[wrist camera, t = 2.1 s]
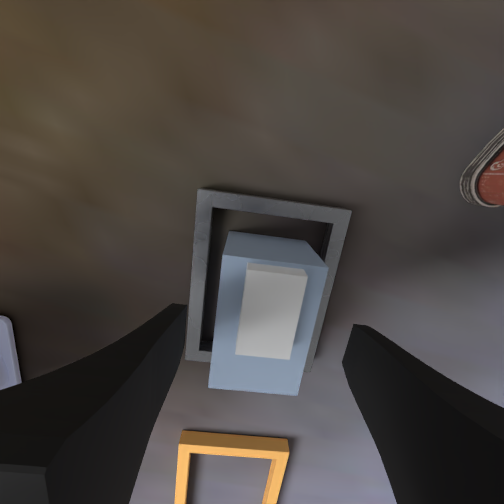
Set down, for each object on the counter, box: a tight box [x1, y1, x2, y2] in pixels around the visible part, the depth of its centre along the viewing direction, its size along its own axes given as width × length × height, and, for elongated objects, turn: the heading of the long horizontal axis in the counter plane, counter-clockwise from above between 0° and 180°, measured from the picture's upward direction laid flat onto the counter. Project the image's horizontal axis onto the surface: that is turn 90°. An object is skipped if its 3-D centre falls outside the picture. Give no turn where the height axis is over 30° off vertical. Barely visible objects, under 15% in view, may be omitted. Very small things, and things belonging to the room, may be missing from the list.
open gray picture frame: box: [185, 188, 352, 372], centre depth 15 cm, size 8×11×1 cm
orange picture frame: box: [175, 430, 289, 504], centre depth 21 cm, size 8×11×1 cm
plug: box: [208, 231, 329, 396], centre depth 13 cm, size 4×7×5 cm, turn 172°
